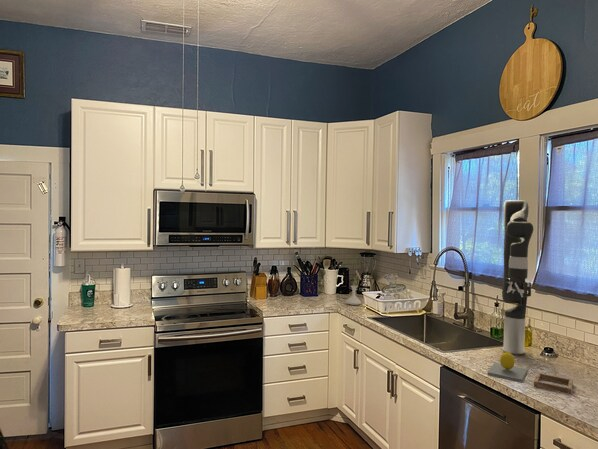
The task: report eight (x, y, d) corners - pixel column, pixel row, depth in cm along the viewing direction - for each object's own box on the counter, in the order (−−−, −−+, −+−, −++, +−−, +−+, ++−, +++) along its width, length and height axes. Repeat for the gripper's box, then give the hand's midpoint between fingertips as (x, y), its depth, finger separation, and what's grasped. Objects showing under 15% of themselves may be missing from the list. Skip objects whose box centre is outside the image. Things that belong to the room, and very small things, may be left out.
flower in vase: (357, 306, 316) (358, 272, 315) (343, 304, 322) (344, 270, 321) (364, 304, 327) (365, 270, 326) (350, 302, 333) (352, 269, 332)
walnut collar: (537, 377, 181) (537, 372, 181) (572, 384, 174) (572, 379, 174) (533, 386, 170) (533, 381, 170) (571, 394, 163) (571, 389, 163)
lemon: (500, 371, 184) (501, 352, 183) (499, 367, 189) (500, 349, 189) (514, 373, 182) (515, 354, 181) (513, 369, 187) (514, 350, 187)
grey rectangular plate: (494, 364, 195) (495, 362, 195) (527, 371, 188) (527, 368, 188) (487, 374, 182) (487, 372, 182) (522, 382, 175) (522, 379, 175)
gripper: (537, 269, 186) (535, 307, 186) (514, 265, 200) (513, 300, 200) (521, 268, 184) (520, 307, 185) (500, 265, 198) (498, 300, 199)
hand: (516, 303), depth 192 cm, fingers open, 8 cm apart
